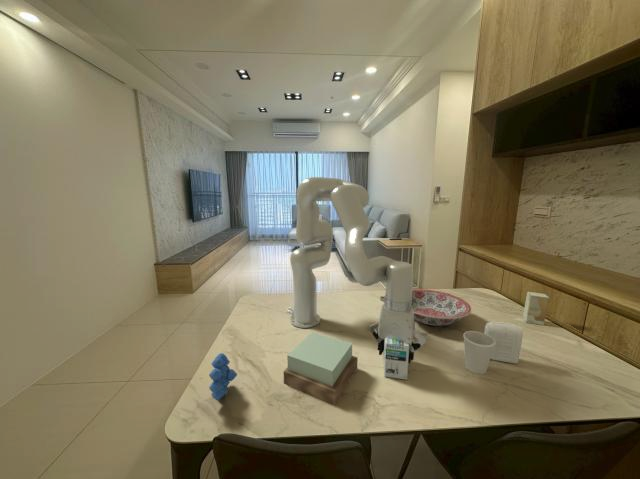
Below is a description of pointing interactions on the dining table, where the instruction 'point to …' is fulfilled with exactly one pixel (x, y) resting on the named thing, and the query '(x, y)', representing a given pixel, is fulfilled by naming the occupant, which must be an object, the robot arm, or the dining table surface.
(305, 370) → the tower top block
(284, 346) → the dining table surface
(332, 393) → the tower base block
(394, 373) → the light bulb box
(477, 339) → the dixie cup
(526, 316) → the skincare box
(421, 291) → the ceramic bowl
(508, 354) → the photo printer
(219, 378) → the grapes
